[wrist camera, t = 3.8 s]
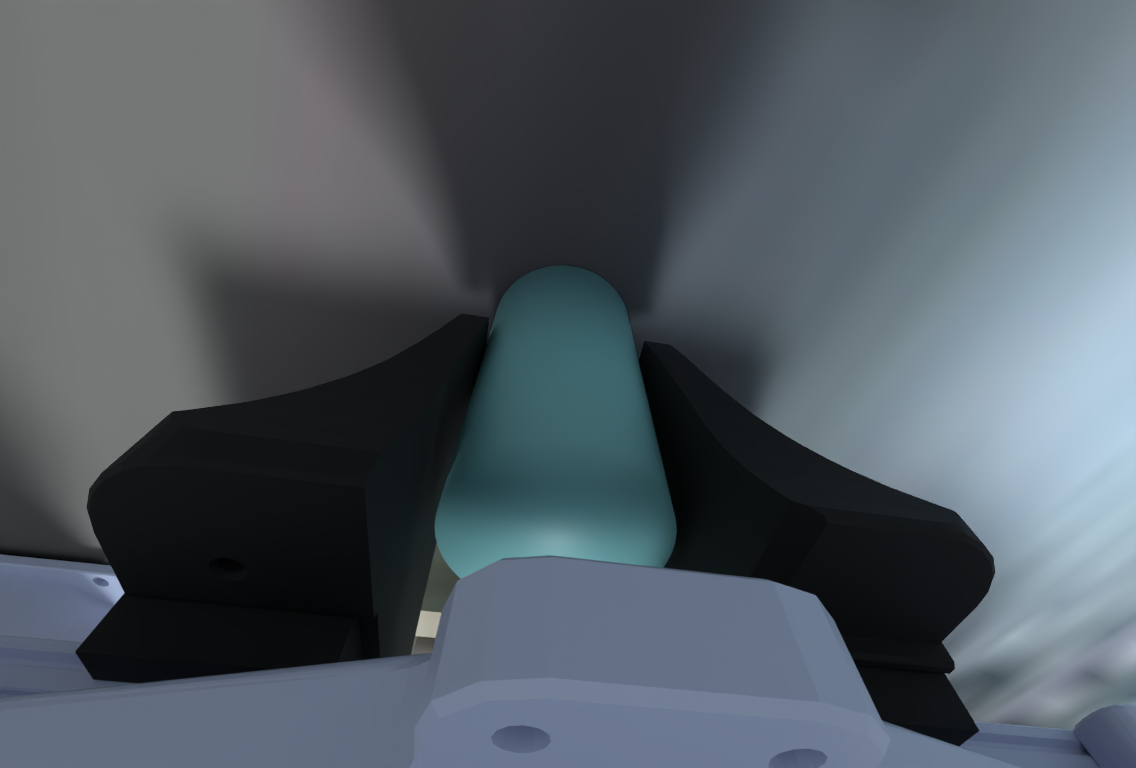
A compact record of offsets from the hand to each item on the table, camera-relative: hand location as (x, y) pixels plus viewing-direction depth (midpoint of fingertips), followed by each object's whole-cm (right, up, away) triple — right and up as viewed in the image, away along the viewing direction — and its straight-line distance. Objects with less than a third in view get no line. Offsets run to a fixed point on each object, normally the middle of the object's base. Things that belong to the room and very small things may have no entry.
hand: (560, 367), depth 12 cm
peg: (0, +1, +2) cm, 2 cm away
